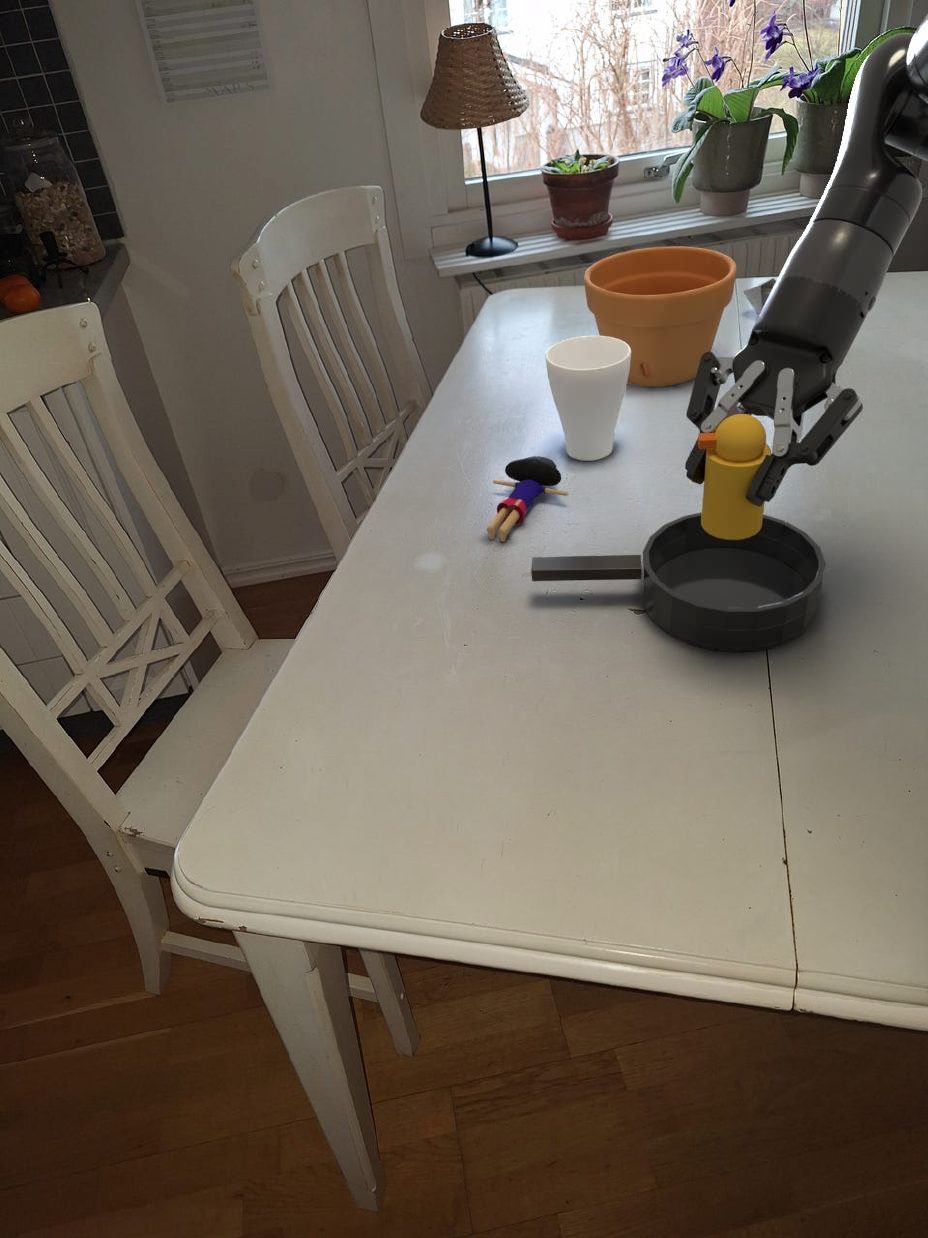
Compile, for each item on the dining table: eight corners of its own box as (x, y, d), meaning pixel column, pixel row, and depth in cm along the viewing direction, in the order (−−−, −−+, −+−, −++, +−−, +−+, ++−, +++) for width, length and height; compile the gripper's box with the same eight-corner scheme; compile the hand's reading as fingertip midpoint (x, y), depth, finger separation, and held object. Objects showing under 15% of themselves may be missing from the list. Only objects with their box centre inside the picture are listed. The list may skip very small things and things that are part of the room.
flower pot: (571, 394, 131) (568, 293, 121) (601, 338, 146) (600, 245, 136) (719, 401, 124) (728, 295, 115) (734, 342, 139) (743, 244, 130)
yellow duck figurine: (757, 506, 77) (770, 400, 71) (766, 539, 73) (780, 430, 67) (690, 508, 78) (697, 404, 72) (695, 541, 74) (703, 433, 68)
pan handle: (640, 565, 91) (640, 554, 90) (641, 579, 89) (641, 568, 88) (533, 567, 92) (532, 556, 91) (531, 581, 91) (531, 570, 90)
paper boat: (778, 290, 151) (826, 287, 143) (768, 328, 152) (815, 327, 144) (734, 267, 144) (781, 261, 136) (724, 307, 145) (770, 304, 137)
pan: (800, 547, 96) (806, 507, 93) (833, 652, 83) (842, 610, 80) (638, 550, 98) (639, 512, 95) (646, 653, 85) (647, 612, 82)
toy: (536, 553, 101) (584, 483, 110) (533, 520, 98) (583, 451, 107) (458, 537, 105) (511, 471, 115) (453, 505, 102) (508, 440, 112)
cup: (536, 443, 120) (531, 347, 112) (606, 424, 122) (606, 328, 114) (571, 477, 112) (567, 377, 104) (644, 456, 114) (647, 356, 106)
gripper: (726, 258, 72) (631, 450, 73) (901, 290, 63) (789, 507, 65) (756, 302, 78) (667, 479, 79) (919, 336, 69) (816, 534, 71)
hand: (723, 490), depth 72 cm, fingers closed on yellow duck figurine, 5 cm apart
